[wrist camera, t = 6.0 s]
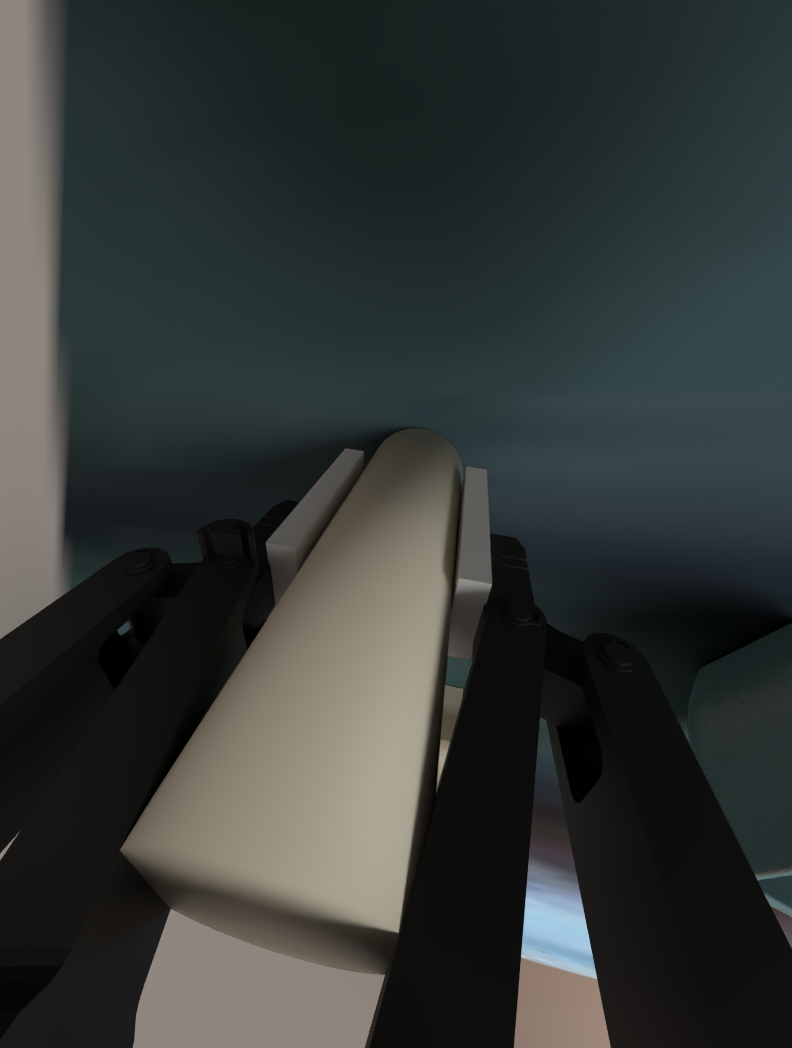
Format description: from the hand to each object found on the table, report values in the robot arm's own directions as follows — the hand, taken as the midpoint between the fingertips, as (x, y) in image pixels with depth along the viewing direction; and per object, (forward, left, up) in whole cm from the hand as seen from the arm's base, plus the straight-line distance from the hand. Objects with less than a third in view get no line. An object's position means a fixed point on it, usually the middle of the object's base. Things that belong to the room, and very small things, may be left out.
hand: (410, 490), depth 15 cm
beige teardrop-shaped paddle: (+6, 0, -2) cm, 7 cm away
